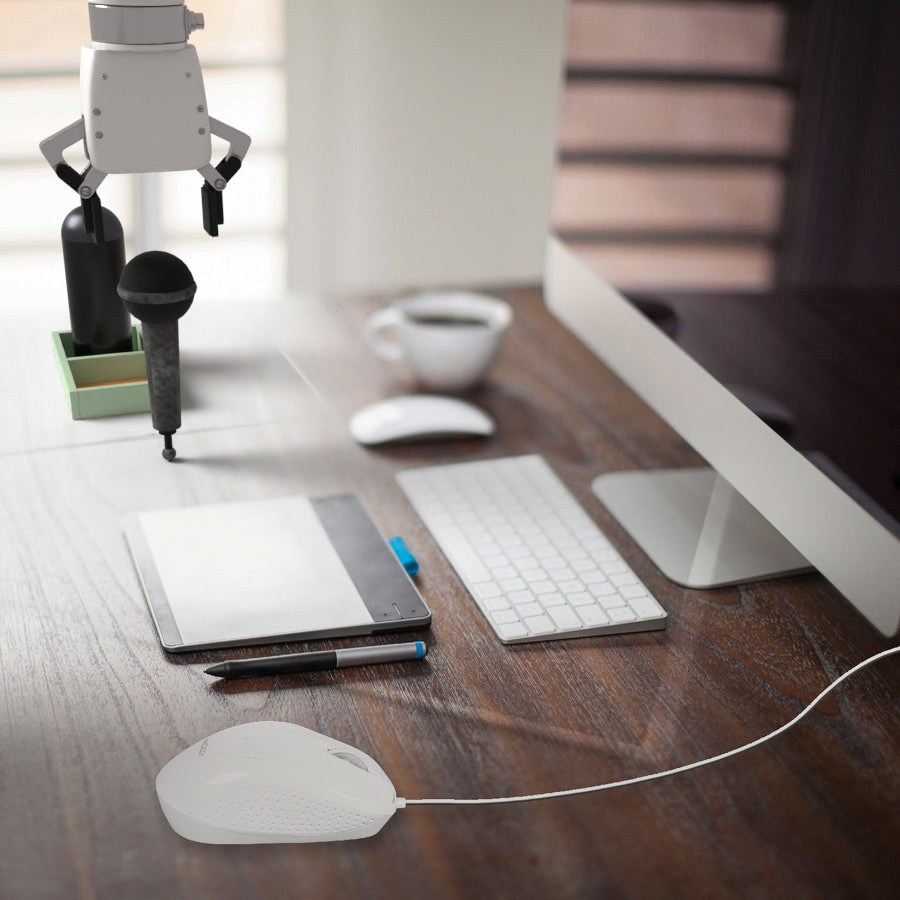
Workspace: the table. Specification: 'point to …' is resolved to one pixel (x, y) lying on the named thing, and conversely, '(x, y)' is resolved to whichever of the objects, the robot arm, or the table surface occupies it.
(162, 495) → the table surface
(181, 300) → the microphone
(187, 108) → the robot arm
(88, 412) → the mic rack
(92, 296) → the black domed cylinder
